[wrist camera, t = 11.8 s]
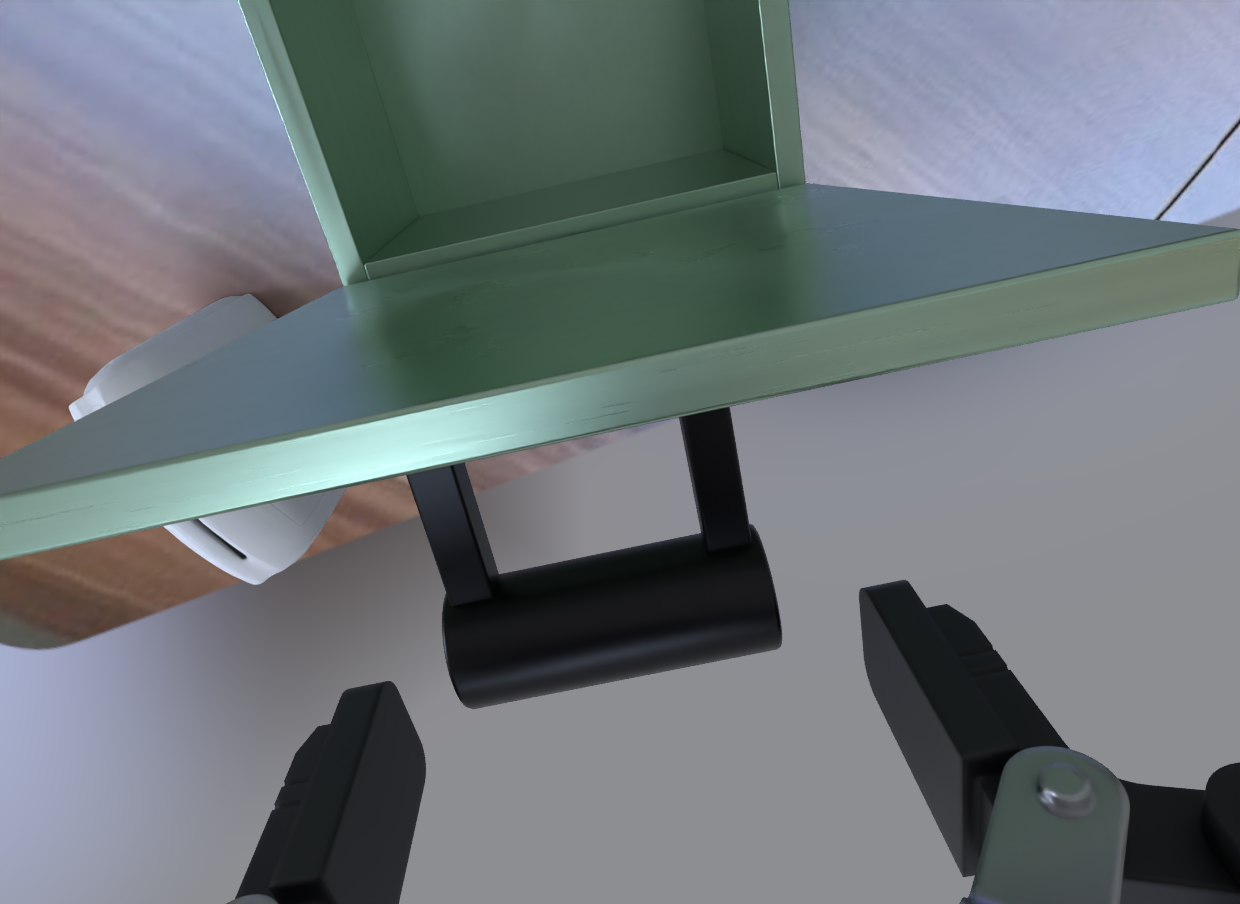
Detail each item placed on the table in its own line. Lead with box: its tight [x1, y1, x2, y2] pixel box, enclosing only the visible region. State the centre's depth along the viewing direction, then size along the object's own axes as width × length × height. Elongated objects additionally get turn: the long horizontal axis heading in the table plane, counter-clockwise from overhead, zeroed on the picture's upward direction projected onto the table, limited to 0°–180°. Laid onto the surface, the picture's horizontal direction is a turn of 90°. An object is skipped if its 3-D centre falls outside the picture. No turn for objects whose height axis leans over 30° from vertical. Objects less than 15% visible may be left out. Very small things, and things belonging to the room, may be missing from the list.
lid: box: [0, 183, 1240, 709], centre depth 18 cm, size 18×16×6 cm
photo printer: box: [69, 294, 347, 585], centre depth 33 cm, size 10×4×12 cm, turn 32°
